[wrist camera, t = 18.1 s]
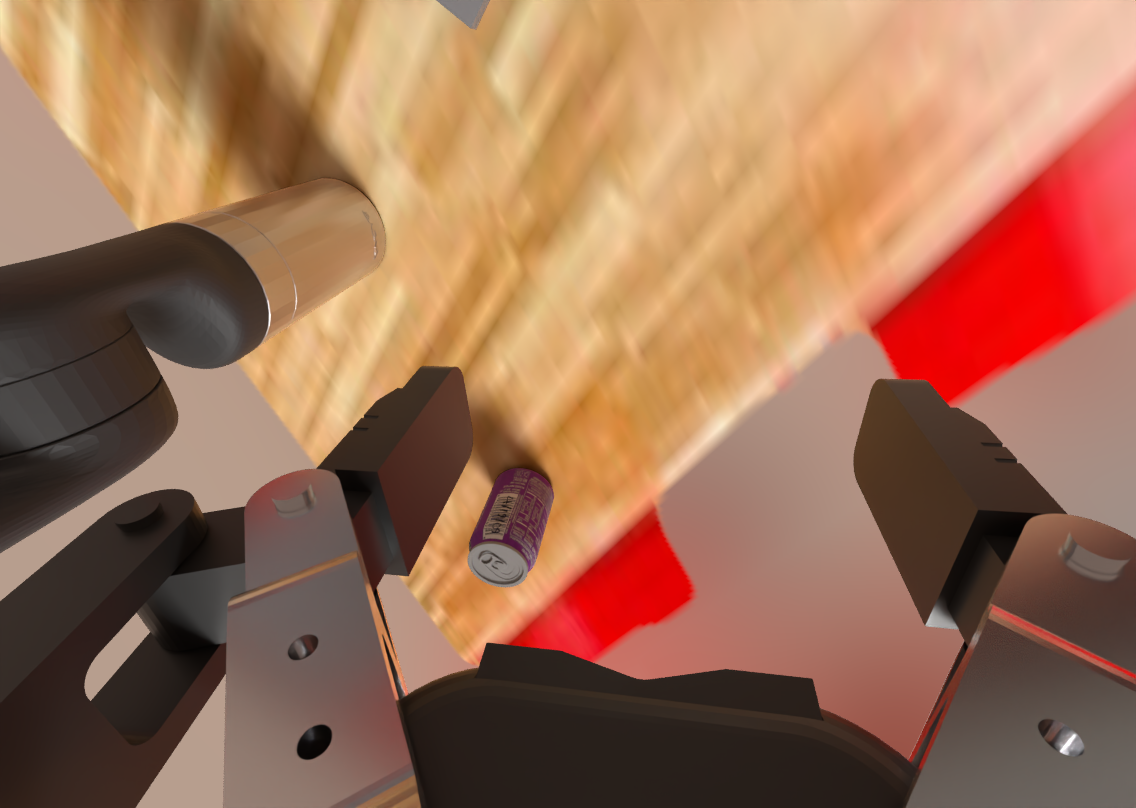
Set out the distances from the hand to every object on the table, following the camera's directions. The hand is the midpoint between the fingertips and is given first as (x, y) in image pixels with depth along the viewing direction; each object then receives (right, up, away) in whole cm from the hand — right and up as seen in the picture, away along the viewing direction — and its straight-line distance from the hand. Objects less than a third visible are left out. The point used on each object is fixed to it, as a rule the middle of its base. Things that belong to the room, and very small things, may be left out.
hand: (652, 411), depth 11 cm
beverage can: (-7, -10, +52) cm, 54 cm away
